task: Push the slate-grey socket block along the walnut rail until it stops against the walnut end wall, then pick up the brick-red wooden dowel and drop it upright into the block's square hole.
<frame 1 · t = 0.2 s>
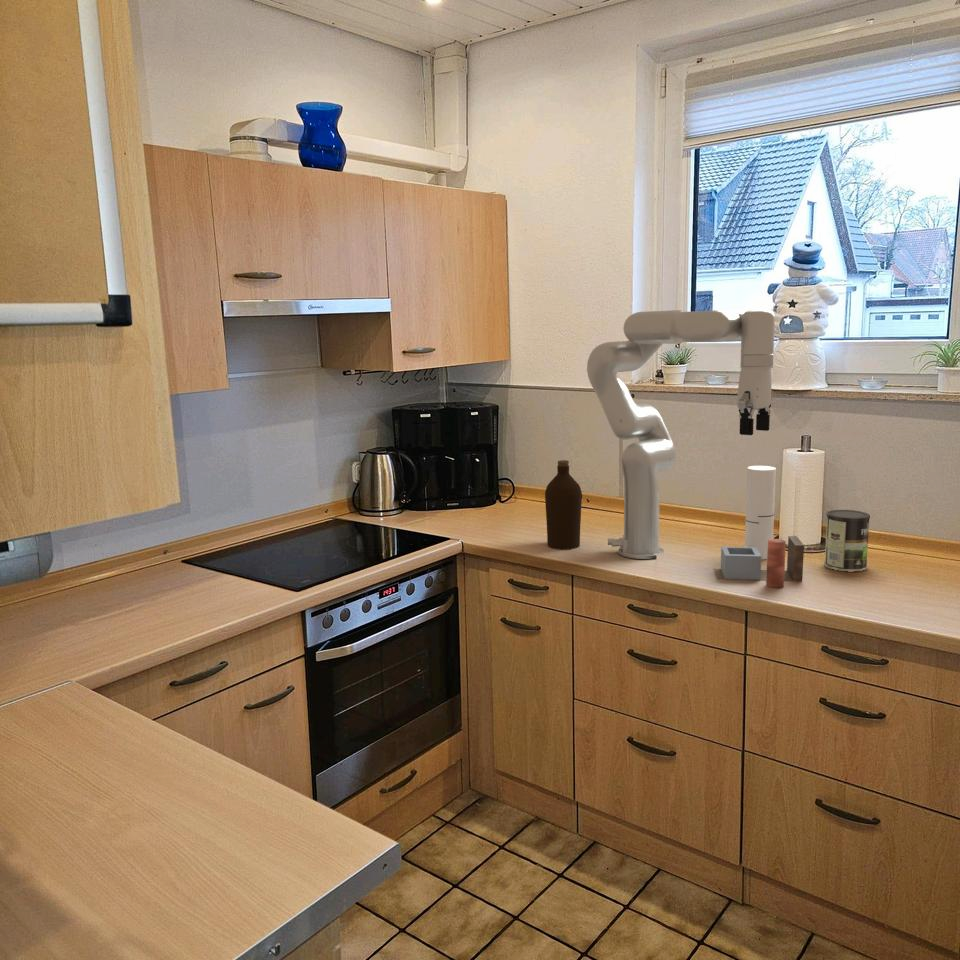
hand: (754, 432, 208), 36 cm above the countertop, tool pointing down, fingers open, 9 cm apart
olive oil: (563, 546, 248), on the countertop
cylindrical container: (758, 559, 229), on the countertop
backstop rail: (756, 578, 212), on the countertop
socket block: (740, 562, 212), point 4 cm above the countertop, slide at 0.0 cm
coffee can: (845, 567, 221), on the countertop
dowel: (774, 589, 203), on the countertop
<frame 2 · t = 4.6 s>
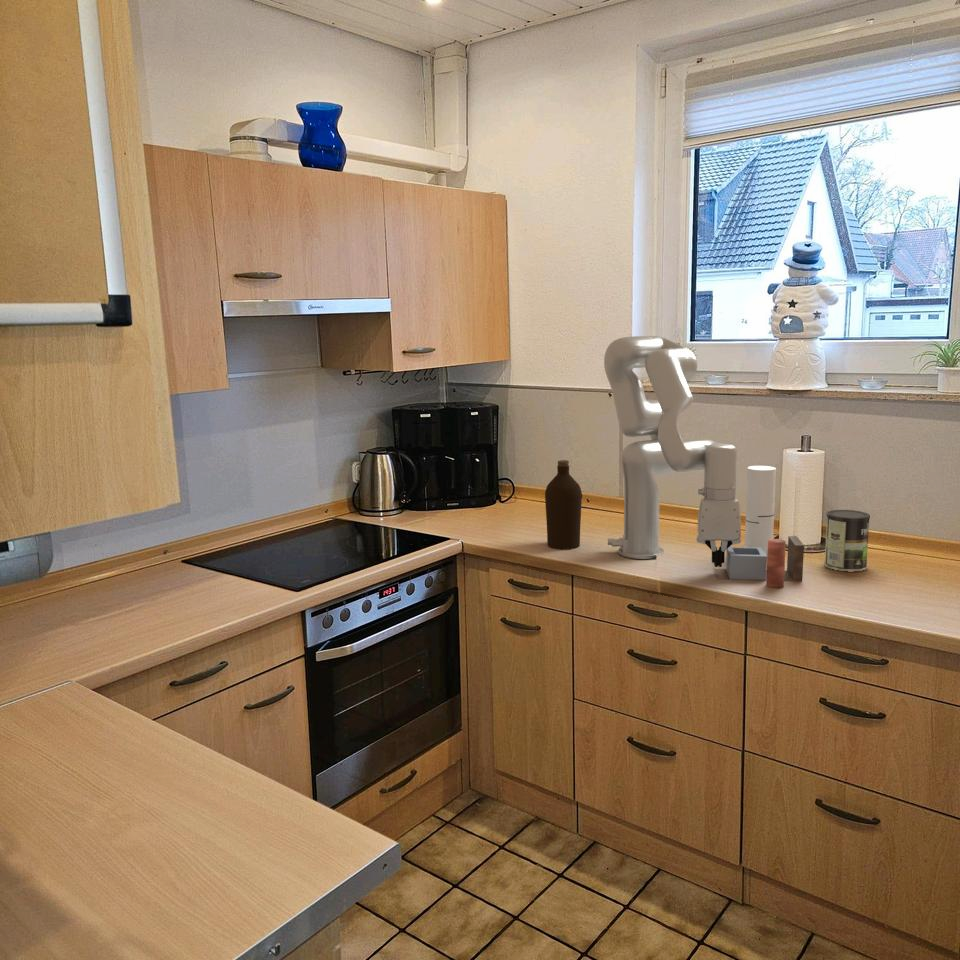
hand: (717, 565, 213), 3 cm above the countertop, tool pointing down, fingers closed
socket block: (745, 563, 212), point 4 cm above the countertop, slide at 1.3 cm, touching gripper
everything else where it was.
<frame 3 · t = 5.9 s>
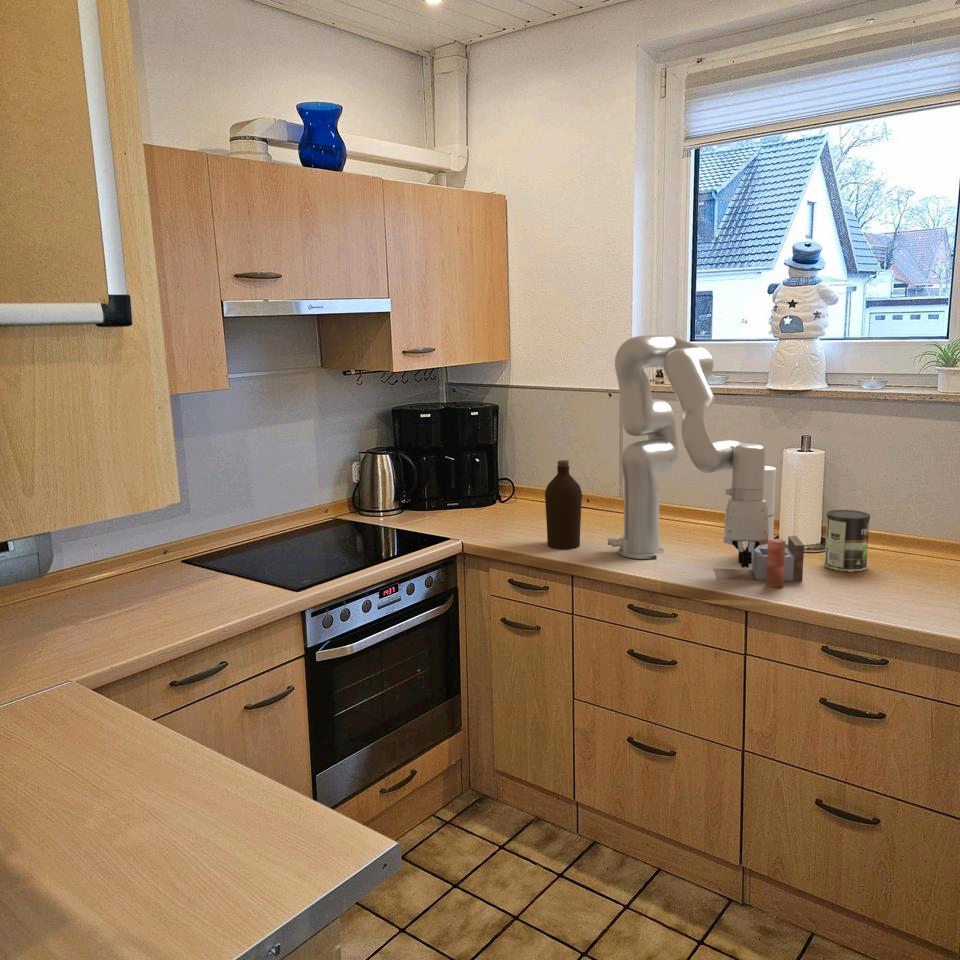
hand: (744, 566, 212), 3 cm above the countertop, tool pointing down, fingers closed
socket block: (772, 563, 211), point 4 cm above the countertop, slide at 7.8 cm, touching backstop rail, gripper
everything else where it was.
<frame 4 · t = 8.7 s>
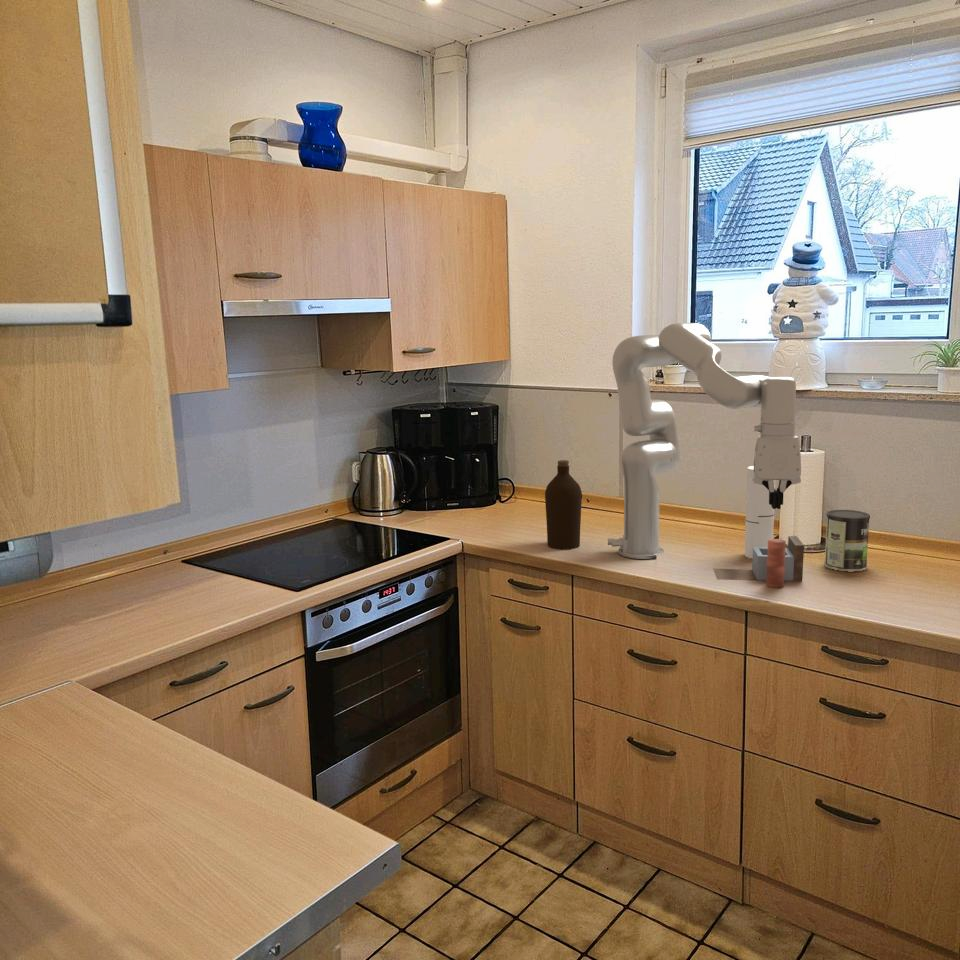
hand: (775, 507, 200), 20 cm above the countertop, tool pointing down, fingers closed
socket block: (772, 563, 211), point 4 cm above the countertop, slide at 7.8 cm, touching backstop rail
everything else where it was.
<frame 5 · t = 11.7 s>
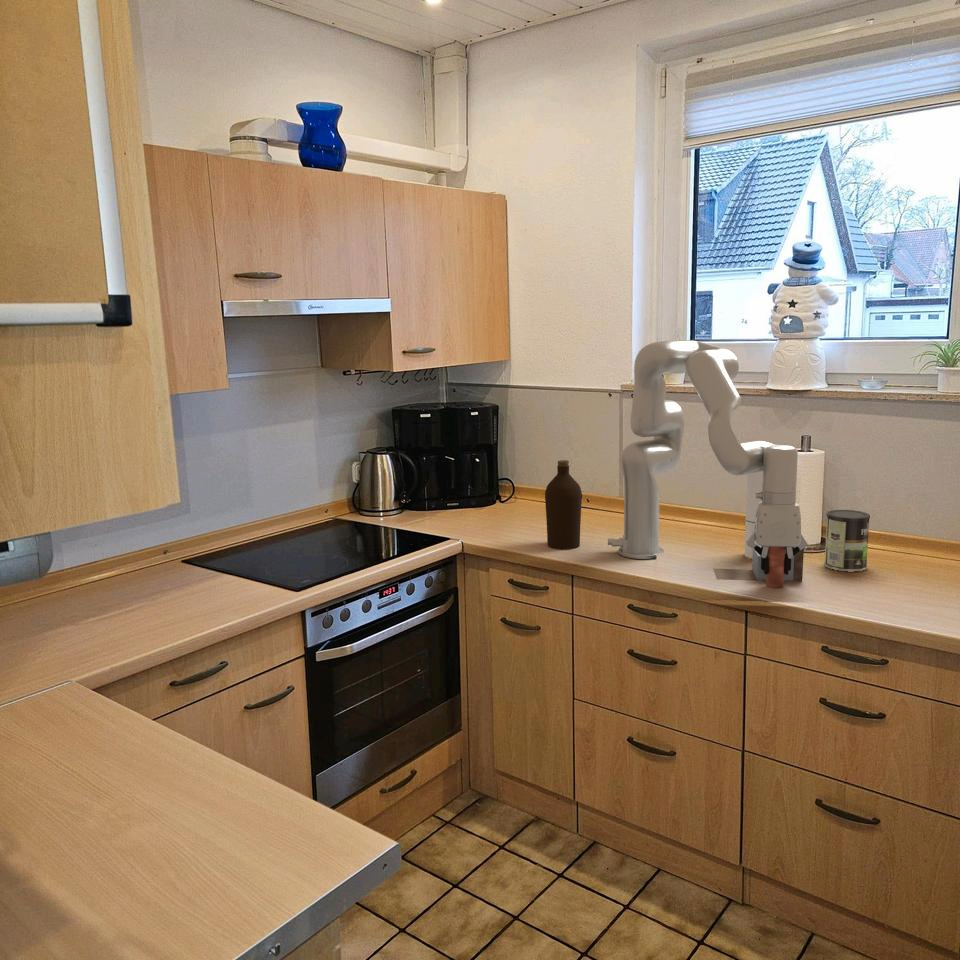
hand: (775, 572, 203), 4 cm above the countertop, tool pointing down, fingers closed on dowel, 4 cm apart
dowel: (774, 589, 203), on the countertop, touching gripper
everything else where it was.
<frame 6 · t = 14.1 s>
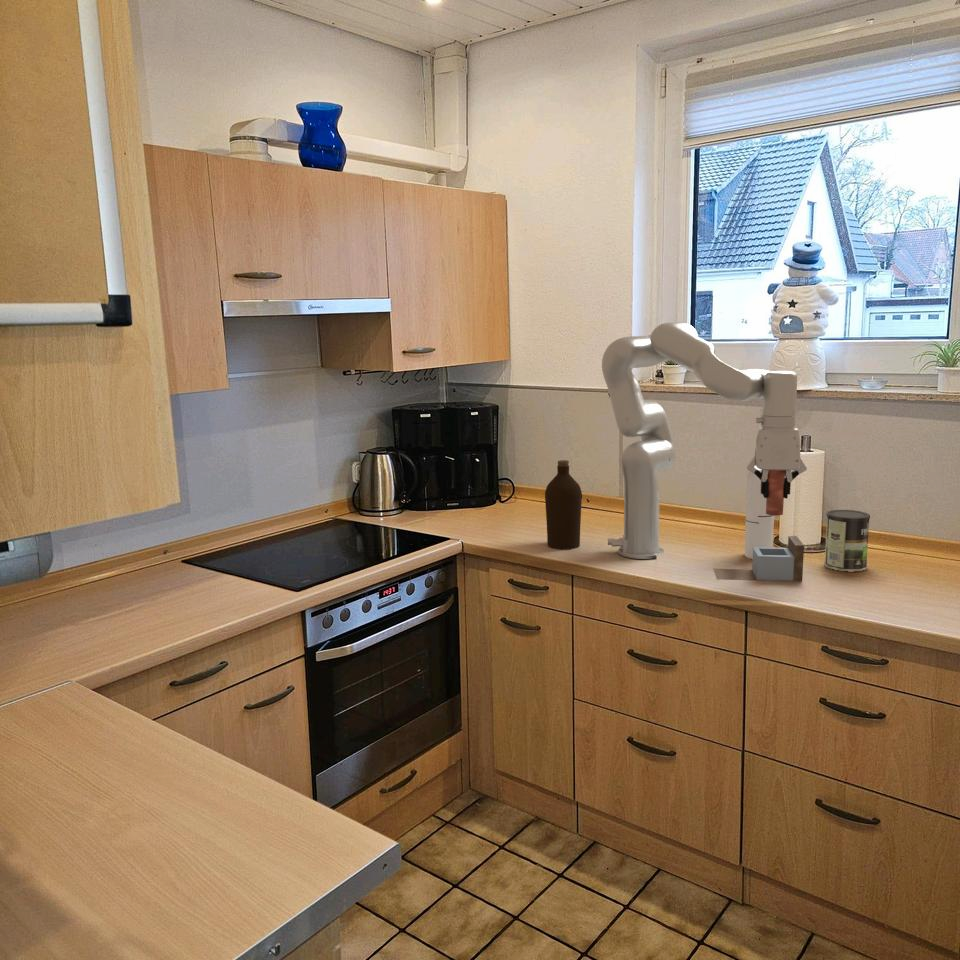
hand: (775, 496, 207), 21 cm above the countertop, tool pointing down, fingers closed on dowel, 4 cm apart
dowel: (774, 513, 208), point 17 cm above the countertop, touching gripper
everything else where it was.
when the fingers open (8 cm above the countertop, at t = 16.9 s): dowel drops 2 cm, resting on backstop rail.
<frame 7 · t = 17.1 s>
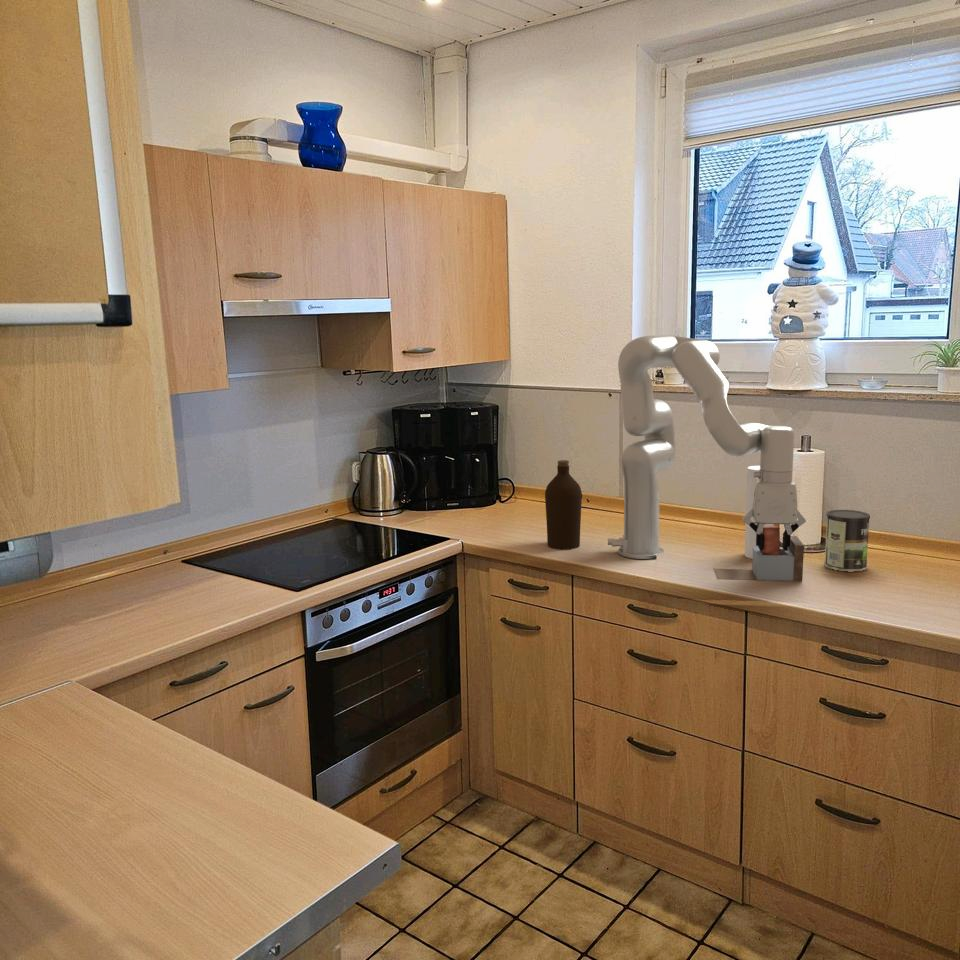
hand: (772, 548, 210), 8 cm above the countertop, tool pointing down, fingers open, 5 cm apart
dowel: (771, 574, 211), point 1 cm above the countertop, touching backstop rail
everything else where it was.
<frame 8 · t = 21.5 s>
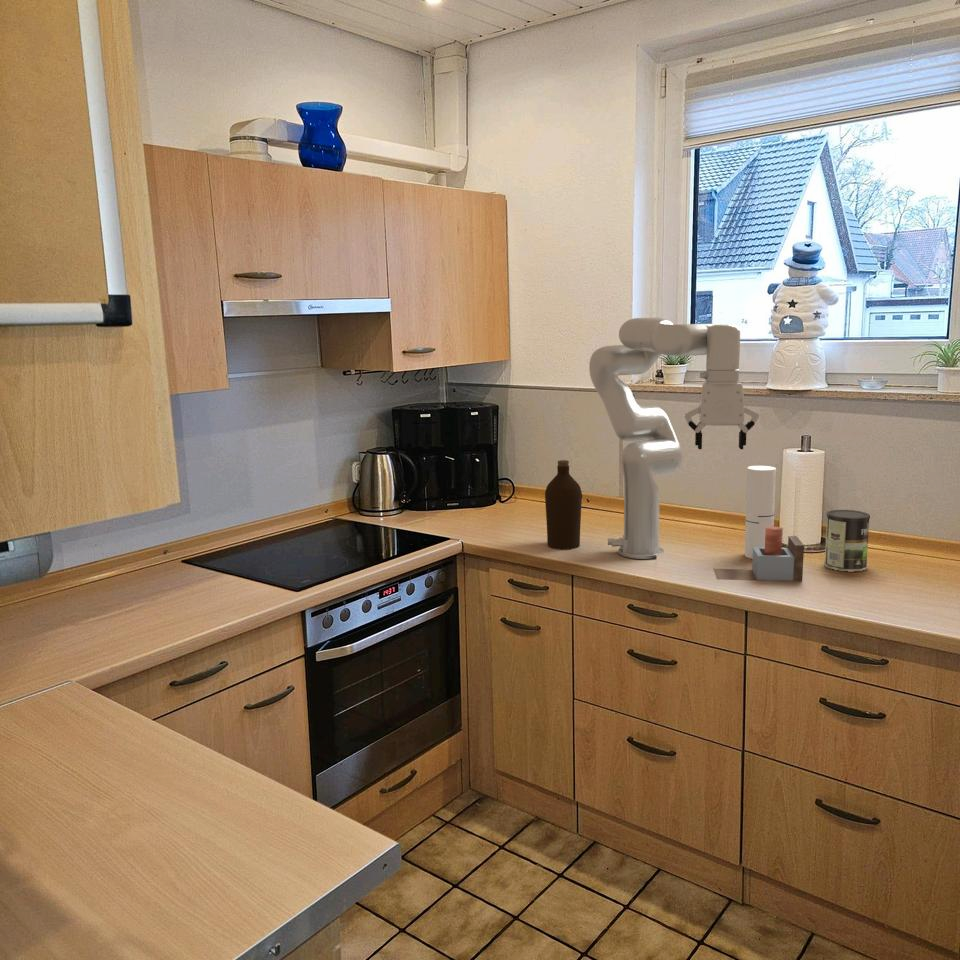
hand: (720, 448, 205), 33 cm above the countertop, tool pointing down, fingers open, 9 cm apart
nothing on the countertop moved.
at the end: socket block slide at 7.8 cm; dowel 0.1 cm from the socket block (horizontally); dowel tilted 0° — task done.
